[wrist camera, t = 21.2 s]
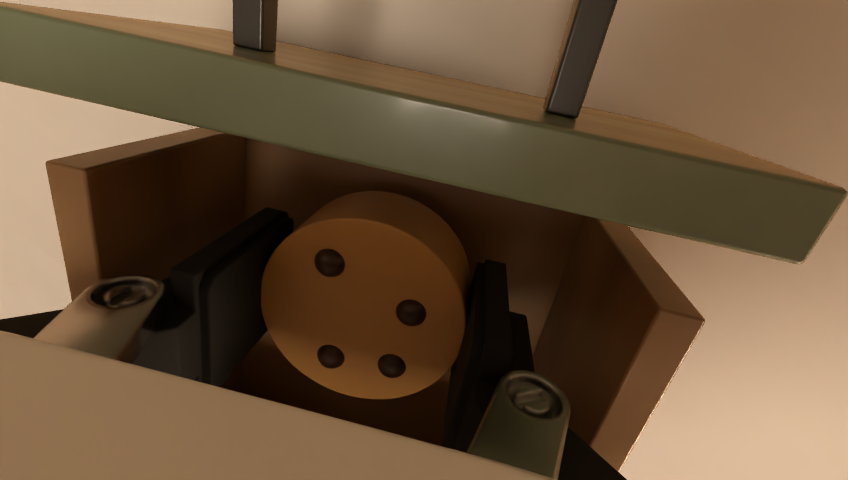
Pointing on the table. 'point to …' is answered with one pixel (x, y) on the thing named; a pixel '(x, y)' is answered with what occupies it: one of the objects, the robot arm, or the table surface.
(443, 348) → the cookie
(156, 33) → the drawer
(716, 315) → the table surface
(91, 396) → the robot arm
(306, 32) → the table surface
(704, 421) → the table surface
